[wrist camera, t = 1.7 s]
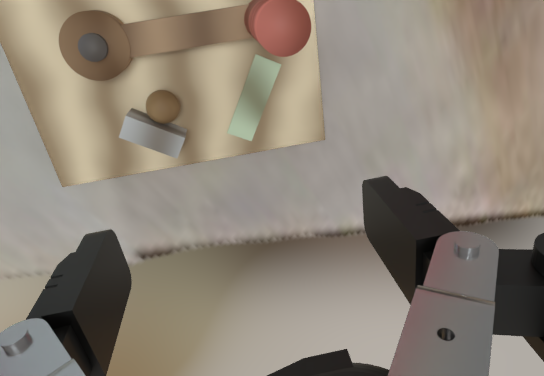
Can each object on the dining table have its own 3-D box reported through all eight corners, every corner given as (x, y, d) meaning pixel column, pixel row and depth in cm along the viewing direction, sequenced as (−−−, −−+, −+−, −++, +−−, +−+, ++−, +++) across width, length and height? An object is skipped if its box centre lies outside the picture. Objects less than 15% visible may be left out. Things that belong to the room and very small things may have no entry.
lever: (81, 81, 32) (14, 121, 21) (57, 15, 30) (-31, 24, 19) (283, 47, 33) (315, 70, 22) (275, -19, 31) (306, -29, 20)
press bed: (69, 178, 38) (51, 200, 34) (-6, -3, 31) (-41, -4, 27) (320, 133, 39) (332, 149, 35) (303, -51, 32) (316, -58, 28)
